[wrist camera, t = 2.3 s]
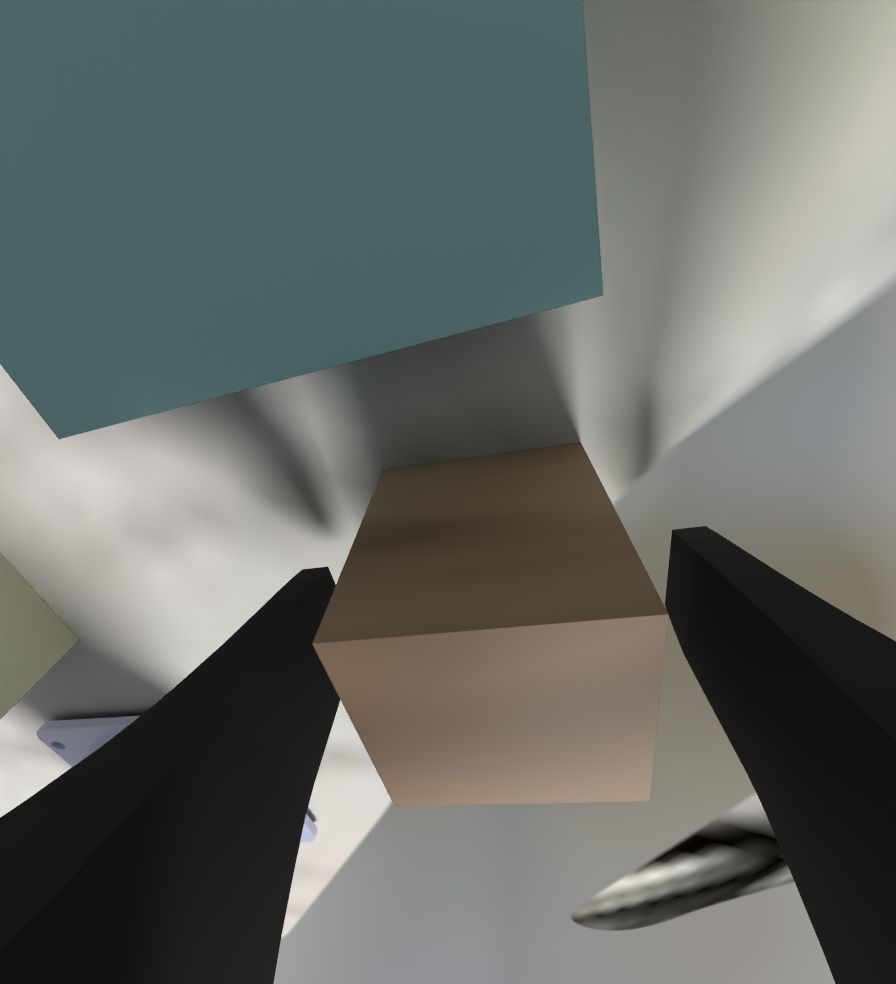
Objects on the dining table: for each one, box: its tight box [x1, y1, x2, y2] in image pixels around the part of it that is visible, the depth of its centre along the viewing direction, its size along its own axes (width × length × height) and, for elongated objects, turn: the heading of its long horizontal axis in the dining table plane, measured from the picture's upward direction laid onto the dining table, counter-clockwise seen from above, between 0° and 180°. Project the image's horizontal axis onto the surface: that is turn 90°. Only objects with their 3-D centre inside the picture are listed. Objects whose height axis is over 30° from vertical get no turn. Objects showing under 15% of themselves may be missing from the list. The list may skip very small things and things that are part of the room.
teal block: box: [0, 0, 603, 439], centre depth 5 cm, size 7×7×4 cm
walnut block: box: [312, 443, 668, 807], centre depth 9 cm, size 4×4×5 cm
